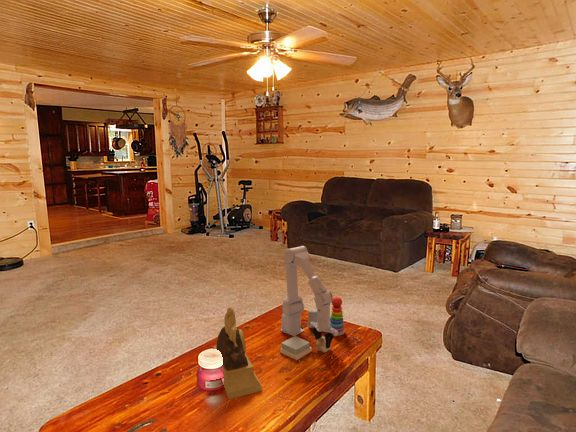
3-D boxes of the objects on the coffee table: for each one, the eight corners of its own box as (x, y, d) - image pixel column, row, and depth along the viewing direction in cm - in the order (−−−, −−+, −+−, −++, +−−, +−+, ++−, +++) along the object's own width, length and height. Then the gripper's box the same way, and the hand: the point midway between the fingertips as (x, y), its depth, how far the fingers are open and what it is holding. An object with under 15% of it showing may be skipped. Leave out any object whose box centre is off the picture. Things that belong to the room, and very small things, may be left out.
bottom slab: (280, 353, 176) (280, 348, 175) (295, 345, 183) (295, 340, 182) (296, 361, 169) (296, 356, 168) (311, 352, 176) (311, 347, 176)
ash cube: (316, 349, 177) (316, 339, 177) (322, 345, 181) (322, 336, 180) (324, 352, 174) (324, 343, 174) (330, 348, 178) (330, 339, 177)
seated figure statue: (262, 390, 148) (259, 316, 143) (228, 399, 143) (225, 322, 138) (241, 355, 173) (239, 291, 168) (213, 361, 169) (209, 295, 164)
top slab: (281, 348, 176) (281, 342, 175) (295, 341, 182) (295, 336, 181) (296, 355, 169) (296, 349, 169) (309, 347, 176) (309, 342, 175)
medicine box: (324, 324, 202) (324, 308, 201) (324, 328, 198) (324, 312, 197) (308, 324, 203) (308, 308, 202) (308, 328, 199) (308, 312, 197)
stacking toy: (325, 332, 194) (325, 296, 191) (336, 327, 199) (337, 292, 196) (336, 338, 188) (336, 301, 185) (348, 333, 192) (348, 297, 189)
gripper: (305, 316, 177) (305, 343, 179) (331, 325, 167) (331, 354, 170) (315, 311, 182) (315, 338, 184) (340, 319, 172) (340, 348, 175)
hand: (323, 345), depth 177 cm, fingers closed on ash cube, 5 cm apart
